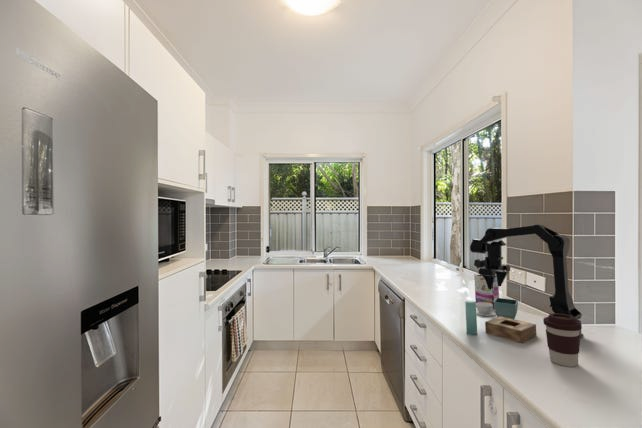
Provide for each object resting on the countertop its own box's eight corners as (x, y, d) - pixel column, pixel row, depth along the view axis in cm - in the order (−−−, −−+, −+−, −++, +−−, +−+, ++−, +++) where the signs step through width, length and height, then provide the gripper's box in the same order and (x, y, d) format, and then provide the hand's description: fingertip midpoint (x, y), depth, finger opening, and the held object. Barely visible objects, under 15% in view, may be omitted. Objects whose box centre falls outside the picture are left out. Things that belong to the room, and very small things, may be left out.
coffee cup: (546, 353, 109) (544, 310, 110) (583, 360, 103) (581, 314, 103) (544, 363, 102) (541, 317, 102) (583, 372, 95) (581, 323, 96)
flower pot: (517, 324, 138) (516, 304, 138) (494, 321, 143) (493, 301, 143) (519, 319, 145) (518, 299, 145) (497, 316, 150) (496, 297, 150)
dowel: (479, 333, 129) (477, 302, 129) (473, 336, 127) (472, 304, 127) (470, 331, 132) (468, 300, 132) (464, 333, 130) (463, 302, 130)
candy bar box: (500, 307, 164) (498, 275, 164) (493, 308, 162) (492, 276, 162) (481, 302, 174) (480, 272, 174) (475, 303, 172) (473, 273, 172)
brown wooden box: (536, 335, 125) (535, 324, 125) (522, 343, 118) (521, 331, 118) (500, 326, 136) (499, 316, 137) (485, 332, 130) (485, 321, 130)
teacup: (496, 317, 148) (496, 307, 149) (473, 315, 153) (473, 306, 153) (495, 311, 158) (494, 302, 158) (473, 309, 162) (472, 300, 162)
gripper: (486, 251, 159) (487, 281, 159) (467, 254, 148) (467, 287, 148) (510, 253, 150) (510, 285, 150) (491, 257, 139) (491, 292, 139)
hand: (494, 287), depth 147 cm, fingers open, 9 cm apart
